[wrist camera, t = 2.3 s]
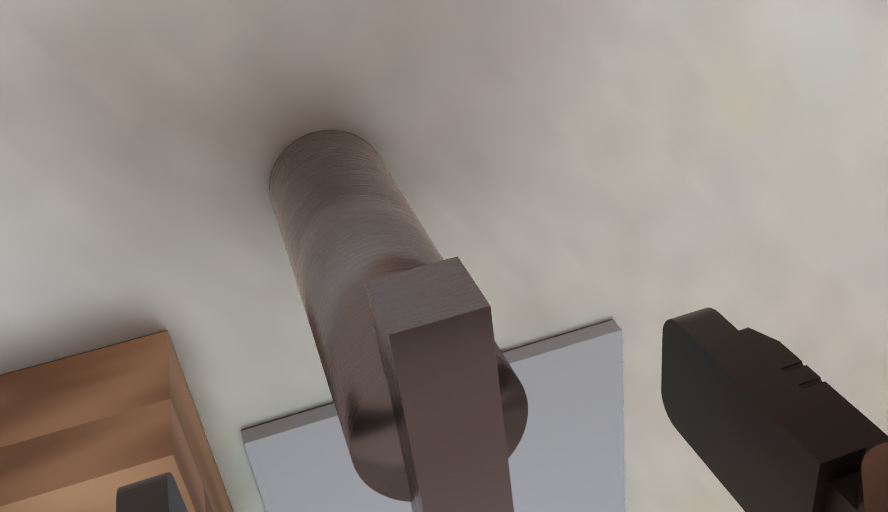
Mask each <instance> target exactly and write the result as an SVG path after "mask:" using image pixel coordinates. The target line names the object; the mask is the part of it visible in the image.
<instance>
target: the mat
mask: <svg viewBox="0 0 888 512" xmlns="http://www.w3.org/2000/svg"><path fill="white" fill-rule="evenodd" d="M503 355H504V356H505V358H506V360H507V361H508V363H509V364H510V366H511V367H512V369H513V371H514V372H515V374H516V375H517V377H518V379H519V380H520V382H521V384H522V385H523V387H524V390H525V393H526V396H527V401H528V418H527V424H526V427H525V431H524V433H523V436H522V438H521V440H520V442H519V444H518V446H517V447H516V449H515V451H514V452H513V453H512V455H511V456H510V457H509V459H508V463H509V472H510V481H511V489H512V498H513V507H514V512H625V482H624V424H623V365H622V329H621V328H620V327H619V326H618V325H617V324H616V322H615V321H614V320H610V321H607V322H604V323H600V324H597V325H593V326H590V327H587V328H583V329H580V330H577V331H573V332H570V333H567V334H563V335H560V336H557V337H553V338H550V339H547V340H543V341H540V342H537V343H533V344H530V345H526V346H523V347H520V348H516V349H513V350H510V351H506V352H503ZM242 436H243V443H244V446H245V449H246V452H247V455H248V458H249V461H250V464H251V467H252V470H253V473H254V476H255V479H256V482H257V485H258V488H259V491H260V494H261V497H262V500H263V503H264V506H265V509H266V512H412V507H411V502H406V501H399V500H395V499H391V498H388V497H386V496H383V495H381V494H379V493H377V492H376V491H374V490H373V489H371V488H370V487H369V486H368V485H366V484H365V483H364V482H363V480H362V479H361V478H360V477H359V475H358V474H357V472H356V470H355V468H354V466H353V463H352V460H351V457H350V453H349V450H348V447H347V444H346V440H345V437H344V434H343V431H342V427H341V424H340V421H339V418H338V414H337V411H336V408H335V405H334V403H332V404H329V405H325V406H322V407H319V408H315V409H312V410H309V411H305V412H302V413H299V414H295V415H292V416H289V417H285V418H282V419H279V420H275V421H272V422H269V423H265V424H262V425H258V426H255V427H252V428H248V429H245V430H242Z"/></svg>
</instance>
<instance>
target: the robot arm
mask: <svg viewBox="0 0 888 512" xmlns="http://www.w3.org/2000/svg"><path fill="white" fill-rule="evenodd" d="M661 393H662V399H663V403H664V407H665V410H666V412H667V415H668V417H669V419H670V421H671V422H672V424H673V425H674V427H675V428H676V429H677V431H678V432H679V433H680V434H681V435H682V437H683V438H684V439H685V440H686V441H687V443H688V444H689V445H690V446H691V447H692V448H693V450H694V451H695V452H696V453H697V454H698V456H699V457H700V458H701V459H702V460H703V462H704V463H705V464H706V465H707V466H708V468H709V469H710V470H711V471H712V472H713V474H714V475H715V476H716V477H717V478H718V480H719V481H720V482H721V483H722V484H723V486H724V487H725V488H726V489H727V490H728V491H729V493H730V494H731V495H732V496H733V497H734V499H735V500H736V501H737V502H738V503H739V505H740V506H741V507H742V508H743V509H744V511H745V512H888V436H887V435H886V434H885V433H884V432H883V431H882V430H880V429H879V428H878V427H877V426H876V425H875V424H874V423H872V422H871V421H870V420H869V419H868V418H867V417H865V416H864V415H863V414H862V413H861V412H860V411H859V410H857V409H856V408H855V407H854V406H853V405H852V404H851V403H849V402H848V401H847V400H846V399H845V398H844V397H843V396H841V395H840V394H839V393H838V392H837V391H836V390H834V389H833V388H832V387H831V386H830V385H829V384H828V383H826V382H822V381H821V379H820V376H818V375H817V374H816V373H815V372H814V371H813V370H811V369H810V368H809V367H808V366H807V365H805V366H804V365H803V364H802V361H801V360H800V359H799V358H798V357H797V356H795V355H794V354H793V353H792V352H791V351H790V350H789V349H787V348H786V347H785V346H784V345H783V344H782V343H780V342H779V341H777V340H775V339H773V338H770V337H768V336H766V335H764V334H762V333H759V332H757V331H755V330H753V329H750V328H746V329H742V330H739V331H738V330H737V329H736V328H735V327H734V326H733V325H732V324H731V323H730V322H728V321H727V320H726V319H725V318H724V317H723V316H722V315H721V314H720V313H719V312H717V311H716V310H714V309H712V308H705V309H701V310H698V311H695V312H692V313H688V314H685V315H682V316H679V317H676V318H672V319H669V320H667V321H666V322H665V324H664V326H663V338H662V381H661ZM116 512H188V511H187V508H186V506H185V503H184V501H183V498H182V496H181V493H180V491H179V488H178V486H177V483H176V481H175V479H174V477H173V475H172V474H171V473H170V472H167V473H164V474H161V475H157V476H154V477H151V478H148V479H144V480H141V481H138V482H135V483H131V484H128V485H125V486H122V487H119V488H118V489H117V493H116Z"/></svg>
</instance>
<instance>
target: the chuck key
mask: <svg viewBox="0 0 888 512" xmlns="http://www.w3.org/2000/svg"><path fill="white" fill-rule="evenodd" d="M270 196H271V201H272V204H273V207H274V210H275V213H276V217H277V220H278V223H279V226H280V230H281V233H282V236H283V239H284V243H285V246H286V249H287V252H288V256H289V259H290V262H291V265H292V269H293V272H294V275H295V278H296V282H297V285H298V288H299V291H300V294H301V298H302V301H303V304H304V307H305V311H306V314H307V317H308V320H309V324H310V327H311V330H312V333H313V337H314V340H315V343H316V346H317V350H318V353H319V356H320V359H321V363H322V366H323V369H324V372H325V376H326V379H327V382H328V385H329V388H330V392H331V395H332V398H333V401H334V405H335V408H336V411H337V414H338V418H339V421H340V424H341V427H342V431H343V434H344V437H345V440H346V444H347V447H348V450H349V453H350V457H351V460H352V463H353V466H354V468H355V470H356V472H357V474H358V475H359V477H360V478H361V479H362V480H363V482H364V483H365V484H366V485H368V486H369V487H370V488H371V489H373V490H374V491H376V492H377V493H379V494H381V495H383V496H386V497H388V498H391V499H395V500H399V501H406V502H411V507H412V512H514V507H513V498H512V489H511V481H510V472H509V463H508V459H509V457H510V456H511V455H512V453H513V452H514V451H515V449H516V447H517V446H518V444H519V442H520V440H521V438H522V436H523V433H524V431H525V427H526V424H527V418H528V401H527V396H526V393H525V390H524V387H523V385H522V384H521V382H520V380H519V379H518V377H517V375H516V374H515V372H514V371H513V369H512V367H511V366H510V364H509V363H508V361H507V360H506V358H505V356H504V355H503V353H502V352H501V350H500V348H499V347H498V345H497V344H496V342H495V341H494V333H493V325H492V316H491V307H490V305H489V303H488V302H487V300H486V299H485V297H484V296H483V294H482V293H481V291H480V290H479V288H478V287H477V285H476V284H475V282H474V281H473V279H472V278H471V276H470V275H469V273H468V272H467V270H466V269H465V267H464V266H463V264H462V263H461V261H460V260H459V258H458V257H454V258H450V259H446V260H443V258H442V257H441V255H440V253H439V252H438V250H437V249H436V247H435V246H434V244H433V242H432V241H431V239H430V238H429V236H428V234H427V233H426V231H425V230H424V228H423V227H422V225H421V223H420V222H419V220H418V219H417V217H416V215H415V214H414V212H413V211H412V209H411V208H410V206H409V204H408V203H407V201H406V200H405V198H404V196H403V195H402V193H401V192H400V190H399V189H398V187H397V185H396V184H395V182H394V181H393V179H392V177H391V176H390V174H389V173H388V171H387V170H386V168H385V166H384V165H383V163H382V162H381V160H380V158H379V157H378V155H377V154H376V152H375V151H374V150H373V148H372V147H371V146H370V145H369V144H368V143H366V142H365V141H364V140H362V139H361V138H359V137H357V136H355V135H353V134H350V133H347V132H343V131H336V130H324V131H318V132H314V133H311V134H308V135H306V136H303V137H301V138H299V139H298V140H296V141H295V142H293V143H292V144H291V145H289V146H288V147H287V148H286V149H285V150H284V151H283V153H282V154H281V155H280V156H279V158H278V160H277V161H276V163H275V165H274V168H273V170H272V173H271V177H270Z"/></svg>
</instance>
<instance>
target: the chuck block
mask: <svg viewBox="0 0 888 512" xmlns="http://www.w3.org/2000/svg"><path fill="white" fill-rule="evenodd" d="M167 472H170V473H171V474H172V475H173V477H174V479H175V481H176V483H177V486H178V488H179V491H180V493H181V496H182V498H183V501H184V503H185V506H186V508H187V511H188V512H233V509H232V507H231V504H230V501H229V498H228V496H227V493H226V490H225V487H224V485H223V482H222V479H221V476H220V474H219V471H218V468H217V465H216V463H215V460H214V457H213V454H212V452H211V449H210V446H209V444H208V441H207V438H206V435H205V433H204V430H203V427H202V424H201V422H200V419H199V416H198V413H197V411H196V408H195V405H194V402H193V400H192V397H191V394H190V391H189V389H188V386H187V383H186V381H185V378H184V375H183V372H182V370H181V367H180V364H179V361H178V359H177V356H176V353H175V350H174V348H173V345H172V342H171V339H170V337H169V334H168V331H164V332H160V333H156V334H153V335H149V336H145V337H142V338H138V339H134V340H131V341H127V342H123V343H119V344H116V345H112V346H108V347H105V348H101V349H97V350H94V351H90V352H86V353H82V354H79V355H75V356H71V357H68V358H64V359H60V360H57V361H53V362H49V363H46V364H42V365H38V366H34V367H31V368H27V369H23V370H20V371H16V372H12V373H9V374H5V375H1V376H0V512H116V493H117V489H118V488H119V487H122V486H125V485H128V484H131V483H135V482H138V481H141V480H144V479H148V478H151V477H154V476H157V475H161V474H164V473H167Z"/></svg>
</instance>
